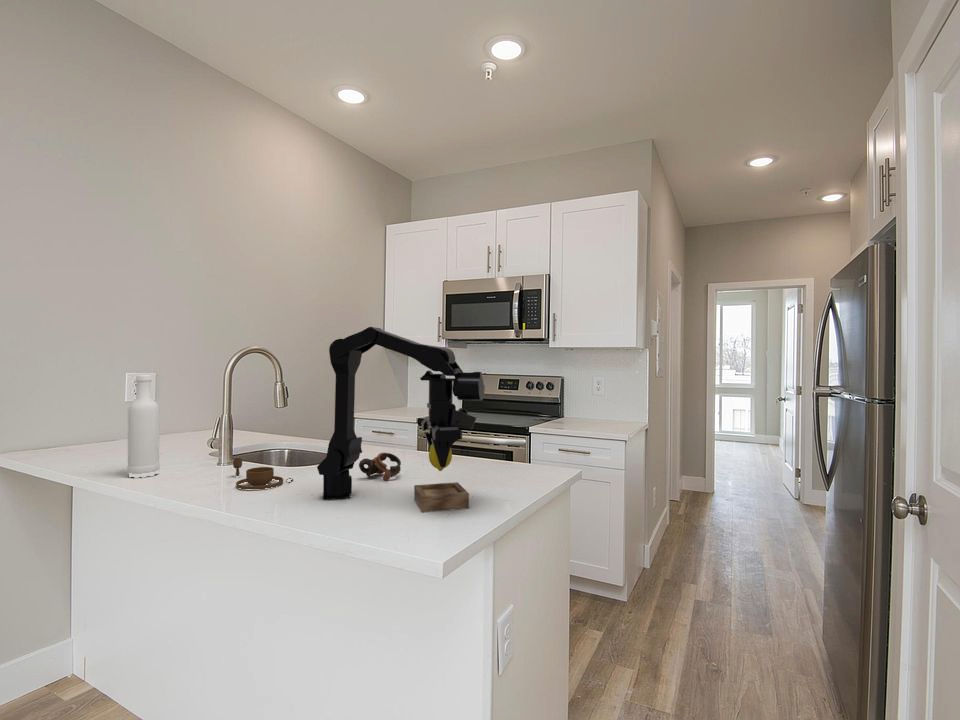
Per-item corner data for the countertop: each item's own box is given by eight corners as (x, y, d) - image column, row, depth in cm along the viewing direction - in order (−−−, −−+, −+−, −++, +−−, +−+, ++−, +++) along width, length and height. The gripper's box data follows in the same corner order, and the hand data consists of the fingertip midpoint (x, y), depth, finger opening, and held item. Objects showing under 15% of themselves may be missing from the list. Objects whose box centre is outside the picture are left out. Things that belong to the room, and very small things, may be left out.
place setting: (220, 495, 130) (220, 472, 130) (230, 478, 149) (230, 458, 149) (292, 489, 136) (292, 467, 136) (293, 473, 155) (293, 454, 155)
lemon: (428, 468, 123) (429, 436, 123) (451, 468, 124) (451, 436, 124) (428, 473, 118) (428, 439, 118) (452, 473, 118) (452, 439, 118)
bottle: (122, 479, 145) (122, 375, 145) (134, 473, 153) (134, 374, 153) (153, 477, 147) (153, 375, 147) (163, 471, 155) (163, 374, 155)
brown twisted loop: (391, 474, 154) (400, 452, 152) (396, 494, 146) (406, 472, 144) (353, 467, 149) (362, 445, 147) (356, 488, 141) (366, 465, 139)
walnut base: (422, 512, 114) (422, 496, 114) (414, 499, 124) (414, 485, 124) (468, 508, 117) (468, 493, 117) (457, 495, 128) (457, 482, 128)
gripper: (484, 402, 114) (483, 470, 114) (463, 396, 132) (462, 455, 132) (435, 403, 111) (435, 473, 111) (421, 396, 129) (420, 457, 129)
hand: (440, 464), depth 121 cm, fingers closed on lemon, 5 cm apart
